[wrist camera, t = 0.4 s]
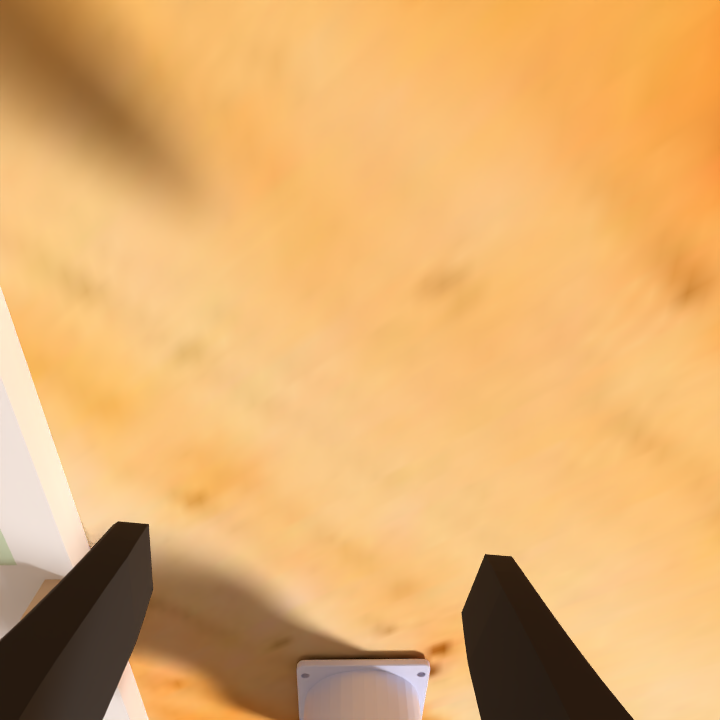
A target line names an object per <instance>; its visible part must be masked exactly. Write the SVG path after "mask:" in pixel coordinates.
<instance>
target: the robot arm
mask: <svg viewBox="0 0 720 720" xmlns="http://www.w3.org/2000/svg"><path fill="white" fill-rule="evenodd" d="M152 591H153V582H152V567H151V552H150V537H149V524H140V523H129V522H117V523H115V524H114V525H112V527H111V528H110V529H109V530H108V531H107V532H106V533H105V534H104V535H103V536H102V538H101V539H100V540H99V541H98V542H97V543H96V544H95V545H94V546H93V547H92V548H91V550H90V551H89V552H88V553H87V554H86V555H85V556H84V557H83V558H82V559H81V560H80V561H79V562H78V563H77V564H76V565H75V566H74V568H73V569H72V570H71V571H70V572H69V573H68V574H67V575H66V576H65V577H64V578H63V579H62V580H61V581H60V582H59V583H58V584H57V585H56V586H55V587H54V588H53V589H52V590H51V591H50V592H49V593H48V594H47V595H46V596H45V597H44V598H43V599H42V600H41V601H40V602H39V603H38V604H37V605H36V606H35V607H34V608H33V609H32V610H31V611H30V612H29V613H28V614H27V615H26V616H25V617H24V618H23V619H22V620H21V621H20V622H18V623H17V624H16V625H15V626H14V627H13V628H12V629H11V630H10V631H9V632H8V633H7V634H6V635H5V636H3V637H2V638H1V639H0V720H103V718H104V716H105V714H106V711H107V709H108V707H109V704H110V702H111V700H112V697H113V695H114V693H115V691H116V688H117V686H118V684H119V681H120V679H121V677H122V674H123V672H124V670H125V667H126V665H127V663H128V660H129V658H130V656H131V653H132V651H133V649H134V646H135V644H136V641H137V638H138V635H139V632H140V629H141V626H142V623H143V620H144V617H145V614H146V610H147V607H148V604H149V601H150V597H151V594H152ZM462 621H463V630H464V638H465V646H466V653H467V660H468V666H469V670H470V674H471V679H472V683H473V687H474V691H475V696H476V700H477V704H478V708H479V712H480V716H481V720H634V719H633V718H632V717H631V716H630V714H629V713H628V712H627V711H626V710H625V708H624V707H623V706H622V705H621V703H620V702H619V701H618V700H617V698H616V697H615V696H614V695H613V694H612V692H611V691H610V690H609V689H608V687H607V686H606V685H605V684H604V682H603V681H602V680H601V678H600V677H599V676H598V675H597V673H596V672H595V671H594V669H593V668H592V667H591V666H590V664H589V663H588V662H587V660H586V659H585V658H584V656H583V655H582V654H581V652H580V651H579V650H578V648H577V647H576V646H575V644H574V643H573V642H572V640H571V639H570V638H569V636H568V635H567V634H566V632H565V631H564V629H563V628H562V627H561V625H560V624H559V623H558V621H557V620H556V618H555V617H554V616H553V614H552V613H551V611H550V610H549V609H548V607H547V606H546V604H545V603H544V602H543V600H542V599H541V597H540V596H539V594H538V593H537V592H536V590H535V589H534V587H533V586H532V584H531V583H530V582H529V580H528V579H527V577H526V576H525V575H524V573H523V572H522V570H521V569H520V567H519V566H518V565H517V563H516V562H515V560H514V559H513V558H512V557H510V556H499V555H488V554H485V556H484V558H483V561H482V563H481V566H480V568H479V571H478V573H477V576H476V578H475V581H474V583H473V586H472V588H471V591H470V593H469V596H468V598H467V601H466V603H465V606H464V608H463V611H462ZM429 673H430V664H429V661H428V660H426V659H345V660H302V661H300V662H298V664H297V687H298V704H299V720H421V719H422V713H423V708H424V702H425V696H426V690H427V685H428V679H429Z"/></svg>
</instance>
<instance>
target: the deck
mask: <svg viewBox="0 0 720 720" xmlns="http://www.w3.org/2000/svg"><path fill="white" fill-rule="evenodd" d="M90 550H91V549H90V547H89V544H88V541H87V538H86V535H85V532H84V529H83V526H82V523H81V520H80V517H79V514H78V511H77V509H76V506H75V503H74V500H73V497H72V494H71V491H70V488H69V485H68V482H67V479H66V476H65V473H64V471H63V468H62V465H61V462H60V459H59V456H58V453H57V450H56V447H55V444H54V441H53V438H52V435H51V433H50V430H49V427H48V424H47V421H46V418H45V415H44V412H43V409H42V406H41V403H40V400H39V397H38V395H37V392H36V389H35V386H34V383H33V380H32V377H31V374H30V371H29V368H28V365H27V362H26V359H25V357H24V354H23V351H22V348H21V345H20V342H19V339H18V336H17V333H16V330H15V327H14V324H13V321H12V319H11V316H10V313H9V310H8V307H7V304H6V301H5V298H4V295H3V292H2V289H1V286H0V639H1V638H2V637H3V636H5V635H6V634H7V633H8V632H9V631H10V630H11V629H12V628H13V627H14V626H15V625H16V624H17V623H18V622H20V621H21V620H22V619H23V618H24V617H25V616H26V615H27V614H28V613H29V612H30V611H31V610H32V609H33V608H34V607H35V606H36V605H37V604H38V603H39V602H40V601H41V600H42V599H43V598H44V597H45V596H46V595H47V594H48V593H49V592H50V591H51V590H52V589H53V588H54V587H55V586H56V585H57V584H58V583H59V582H60V581H61V580H62V579H63V578H64V577H65V576H66V575H67V574H68V573H69V572H70V571H71V570H72V569H73V568H74V566H75V565H76V564H77V563H78V562H79V561H80V560H81V559H82V558H83V557H84V556H85V555H86V554H87V553H88V552H89V551H90ZM103 720H149V719H148V716H147V713H146V710H145V707H144V704H143V701H142V699H141V696H140V693H139V690H138V687H137V684H136V681H135V678H134V675H133V672H132V669H131V666H130V663H129V661H128V663H127V665H126V667H125V670H124V672H123V674H122V677H121V679H120V681H119V684H118V686H117V688H116V691H115V693H114V695H113V697H112V700H111V702H110V704H109V707H108V709H107V711H106V714H105V716H104V718H103Z"/></svg>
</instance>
